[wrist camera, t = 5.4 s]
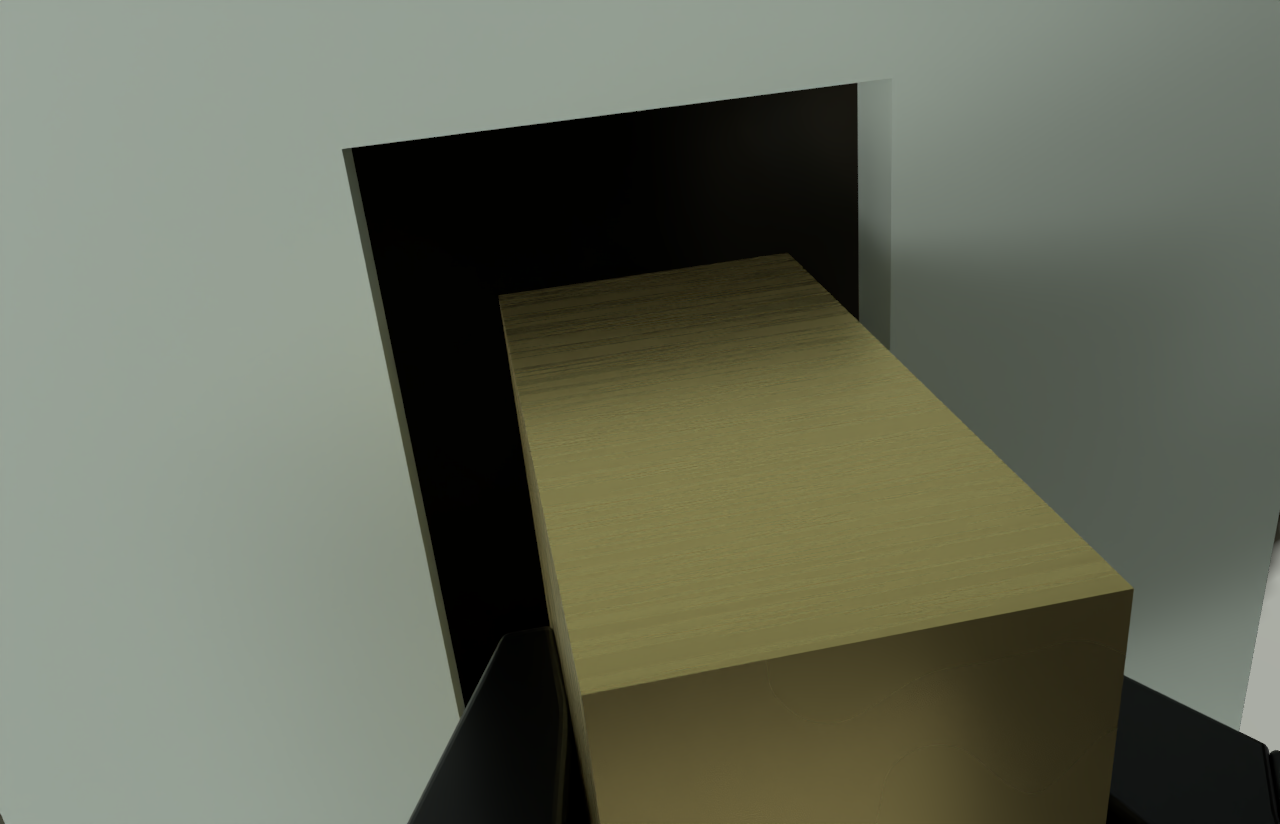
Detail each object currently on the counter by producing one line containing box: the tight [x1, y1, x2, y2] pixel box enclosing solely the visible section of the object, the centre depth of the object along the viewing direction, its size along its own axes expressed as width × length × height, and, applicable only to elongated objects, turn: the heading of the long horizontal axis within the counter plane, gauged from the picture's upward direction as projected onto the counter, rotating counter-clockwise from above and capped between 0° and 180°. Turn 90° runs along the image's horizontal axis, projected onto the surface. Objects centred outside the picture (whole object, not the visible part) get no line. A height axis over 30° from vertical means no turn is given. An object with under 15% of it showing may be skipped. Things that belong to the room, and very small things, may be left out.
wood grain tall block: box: [499, 253, 1134, 824], centre depth 8 cm, size 6×2×5 cm, turn 5°
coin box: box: [0, 0, 1280, 824], centre depth 13 cm, size 16×13×6 cm
